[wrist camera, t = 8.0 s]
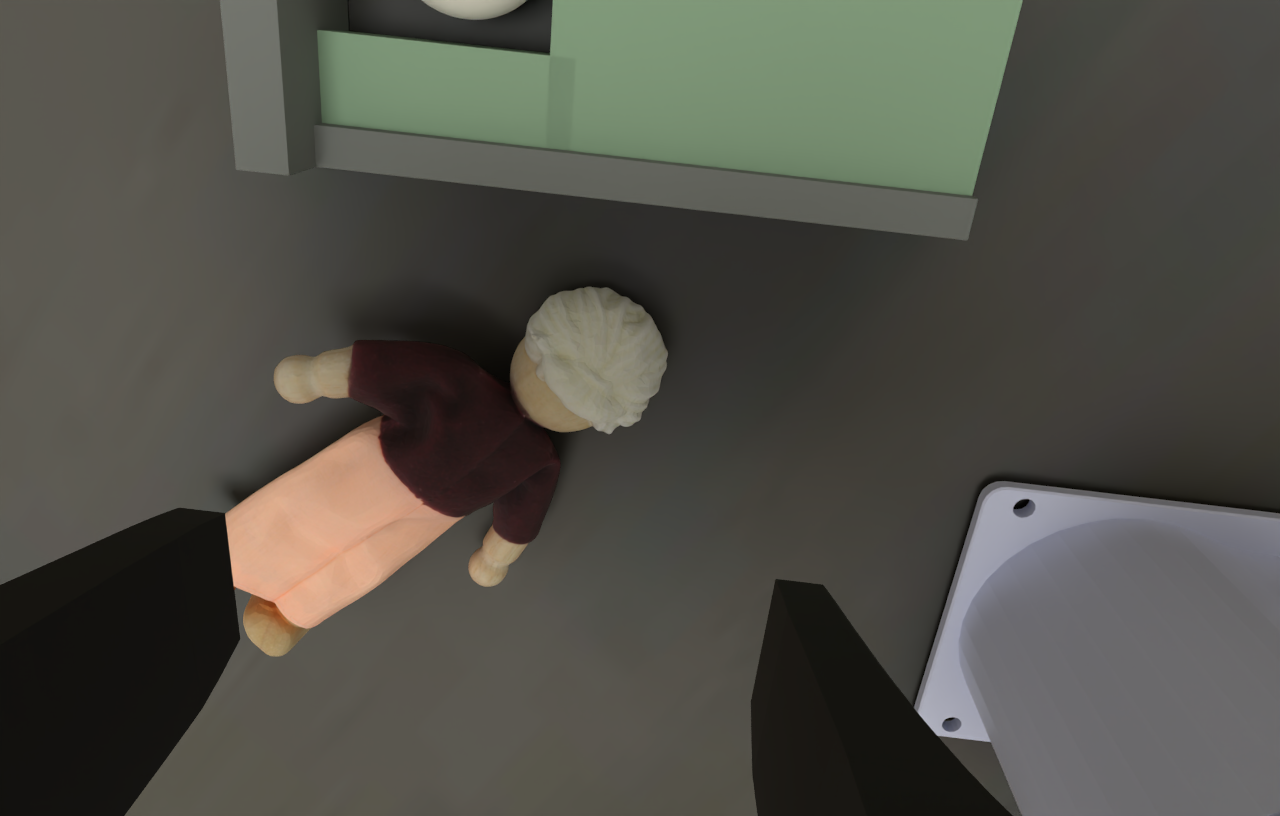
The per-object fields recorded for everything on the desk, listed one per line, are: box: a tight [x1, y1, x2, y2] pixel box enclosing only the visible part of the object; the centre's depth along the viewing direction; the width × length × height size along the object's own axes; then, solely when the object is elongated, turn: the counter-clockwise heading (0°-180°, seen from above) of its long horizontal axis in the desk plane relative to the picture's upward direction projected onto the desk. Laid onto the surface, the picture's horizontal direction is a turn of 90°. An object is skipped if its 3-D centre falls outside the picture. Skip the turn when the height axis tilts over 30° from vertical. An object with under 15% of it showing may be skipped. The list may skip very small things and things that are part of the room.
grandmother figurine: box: [225, 287, 668, 656], centre depth 20 cm, size 8×4×13 cm
